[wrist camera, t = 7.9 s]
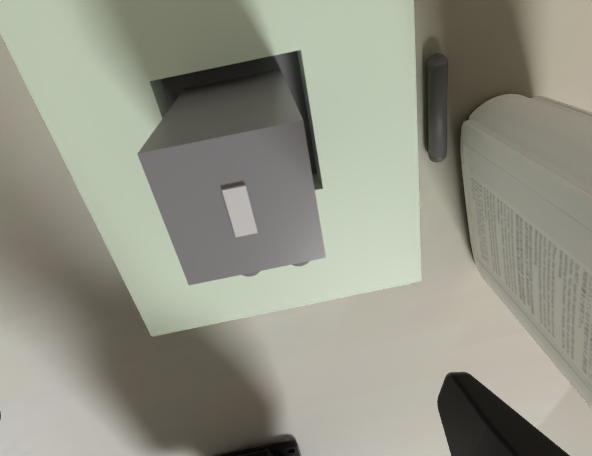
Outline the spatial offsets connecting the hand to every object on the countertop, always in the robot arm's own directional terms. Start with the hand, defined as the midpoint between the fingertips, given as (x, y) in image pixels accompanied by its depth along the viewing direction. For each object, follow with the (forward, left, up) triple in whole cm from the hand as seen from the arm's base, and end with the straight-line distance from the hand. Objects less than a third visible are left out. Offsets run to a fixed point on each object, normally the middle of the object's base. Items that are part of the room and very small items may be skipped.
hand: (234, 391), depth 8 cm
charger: (+2, -1, -12) cm, 12 cm away
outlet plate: (+2, -1, -12) cm, 12 cm away
